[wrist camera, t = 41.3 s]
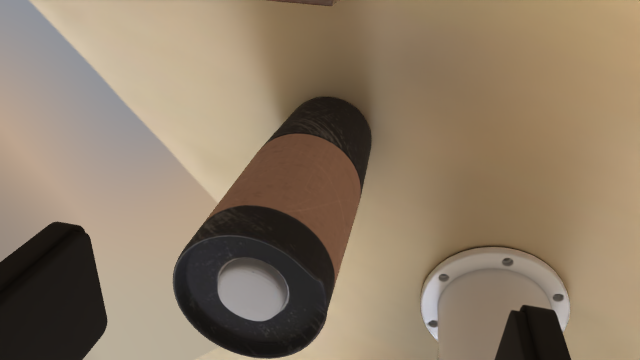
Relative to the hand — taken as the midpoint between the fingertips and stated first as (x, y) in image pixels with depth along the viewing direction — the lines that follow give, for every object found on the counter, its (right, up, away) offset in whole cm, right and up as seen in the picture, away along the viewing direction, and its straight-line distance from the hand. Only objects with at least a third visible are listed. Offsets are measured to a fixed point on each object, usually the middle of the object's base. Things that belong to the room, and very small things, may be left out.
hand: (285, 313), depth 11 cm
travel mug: (+2, +7, +29) cm, 30 cm away
